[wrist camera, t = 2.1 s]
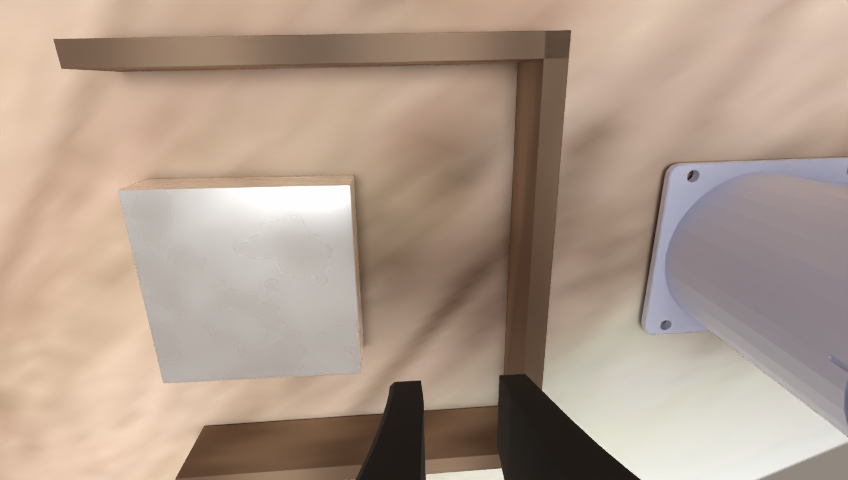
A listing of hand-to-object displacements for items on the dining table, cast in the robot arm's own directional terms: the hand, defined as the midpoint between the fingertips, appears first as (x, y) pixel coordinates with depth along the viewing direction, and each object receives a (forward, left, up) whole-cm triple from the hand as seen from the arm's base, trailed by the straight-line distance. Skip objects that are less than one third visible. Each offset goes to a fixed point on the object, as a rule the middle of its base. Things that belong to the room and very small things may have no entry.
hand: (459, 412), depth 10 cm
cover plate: (+7, 0, -10) cm, 12 cm away
